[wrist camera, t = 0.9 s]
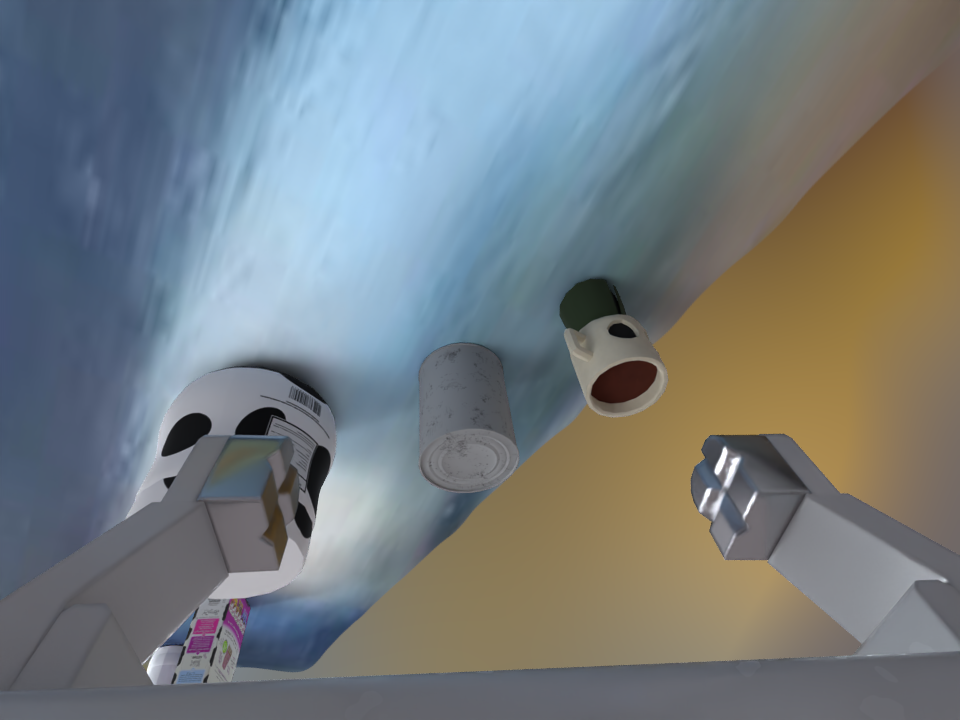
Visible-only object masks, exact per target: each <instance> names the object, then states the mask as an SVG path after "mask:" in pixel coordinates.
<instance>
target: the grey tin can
mask: <svg viewBox="0 0 960 720" xmlns="http://www.w3.org/2000/svg"><path fill="white" fill-rule="evenodd" d="M419 396H420V456H419V469H420V472H421V474H422V476H423V477H424V478H425V480H427V481H428V482H429V483H430V484H431V485H433V486H435V487H437V488H439V489H442V490H446V491H450V492H457V493H471V492H479V491H483V490H487V489H490V488H492V487H495V486H497V485H499V484H501V483H502V482H504V481H505V480H507V479H508V478H509V477H510V476H511V475H512V474H513V473H514V471H515V470H516V468H517V466H518V462H519V451H518V448H517V445H516V440H515V435H514V429H513V424H512V419H511V413H510V408H509V403H508V397H507V392H506V387H505V381H504V376H503V367H502V364H501V362H500V360H499V359H498V357H497V356H496V355H495V354H494V353H493V352H491V351H490V350H489V349H487V348H485V347H482V346H480V345H476V344H472V343H456V344H450V345H447V346H444V347H441V348H439V349H437V350H435V351H434V352H432V353H431V354H430V355H429V356H428V357H427V358H426V359H425V360H424V362H423V363H422V365H421V368H420V370H419Z"/></svg>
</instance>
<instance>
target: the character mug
mask: <svg viewBox="0 0 960 720" xmlns="http://www.w3.org/2000/svg"><path fill="white" fill-rule="evenodd" d="M613 287H614V290H615V293H616V296H617V298H616V297H615V295H614V294H613V293H612V292H611V291H610V289H609V287H608V285H607V282H606V281H605V280H604V279H589V280H586V281H583V282H580V283H577V284H576V285H575V286H574V287H573V288H572V289H571V290H570V291H569V292H568V293H567V294H566V295H565V297H564V299H563V301H562V302H561V304H560V317H561V319H562V321H563V323H564V325H565V327H566V328H567V329H565V333H564V337H565V340H566V343H567V346H568V348H569V351H570V357H571V360H572V363H573V366H574V368H575V371H576V374H577V377H578V380H579V382H580V385H581V388H582V391H583V394H584V396H585V398H586V401H587V403H588V405H589V407H590V408H591V409H592V410H594V411H595V412H596V413H598V414H599V415H604V416H608V417H623V416H629V415H632V414H635V413H638V412H641V411H643V410H645V409H646V408H648V407H649V406H651V405H652V404H654V403H655V402H656V401H657V400H658V399H659V398H660V396H661V395H662V394H663V393H664V391H665V388H666V385H667V382H668V376H667V370H666V368H665V366H664V364H663V362H662V360H661V358H660V356H659V353H658V352H657V351H656V349H655V348H654V347H653V345H652V344H651V342H650V341H649V338H648V335H647V332H646V330H645V329H644V328H643V327H642V326H641V324H640V323H639V322H638V321H637V320H635V319H634V318H633V317H631V316H628V315H626V313H625V309H624V306H623V303H622V301H621V298H620V296H619V293H618V291H617V289H616V287H615V286H614V285H613ZM617 299H618V300H617Z"/></svg>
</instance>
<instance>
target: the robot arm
mask: <svg viewBox="0 0 960 720" xmlns="http://www.w3.org/2000/svg"><path fill="white" fill-rule="evenodd" d="M701 450H702V453H703V454H704V456H705V459H704V460H702V461H701V462H700V463H699V464H697V465H696V466H695V468H694V471H693V474H692V477H691V494H692V497H693V501H694V503H695V505H696V507H697V509H698V511H699V513H700V514H702V515H703V516H705V517H706V518H707V519H709V520H710V521H712V523H711V527H710V533H711V535H712V537H713V539H714V541H715V542H716V544H717V546H718V548H719V550H720V552H721V553H722V555H723V557H724V559H725V560H768V563H769V564H770V565H771V566H772V567H774V568H775V569H776V570H777V571H778V572H779V573H780V574H782V575H783V576H784V577H785V578H786V579H787V580H789V581H790V582H791V583H792V584H793V585H794V586H796V587H797V588H798V589H799V590H800V591H801V592H802V593H804V594H805V595H806V596H807V597H808V598H810V599H811V600H812V601H813V602H814V603H815V604H816V605H818V606H819V607H820V608H821V609H822V610H823V611H825V612H826V613H827V614H828V615H829V616H830V617H832V618H833V619H834V620H835V621H836V622H837V623H839V624H840V625H841V626H842V627H843V628H844V629H845V630H847V631H848V632H849V633H850V634H851V635H853V636H854V637H855V638H856V639H857V640H858V641H859V642H861V643H862V645H861V646H860V647H859V648H858V650H857V651H856V652H855V653H854V654H853V655H852V656H830V657H808V658H784V659H759V660H736V661H712V662H688V663H665V664H641V665H621V666H620V665H618V666H597V667H596V666H595V667H571V668H547V669H524V670H501V671H480V672H479V671H478V672H477V671H476V672H453V673H429V674H405V675H383V676H382V675H381V676H357V677H334V678H309V679H286V680H261V681H237V682H213V683H189V684H165V685H154V684H153V682H152V681H151V679H150V677H149V676H148V674H147V672H146V670H145V669H144V667H143V664H144V663H145V662H146V661H147V660H148V659H149V658H150V657H151V656H152V655H153V654H154V653H155V652H156V651H157V650H158V649H159V648H160V646H161V645H162V644H163V643H164V642H165V641H166V640H167V639H168V638H169V637H170V636H171V635H172V634H173V633H174V632H175V631H176V630H177V629H178V628H179V627H180V626H181V625H182V624H183V623H184V622H185V621H186V620H187V619H188V618H189V617H190V616H191V615H192V613H193V612H194V611H195V610H196V609H197V608H198V607H199V606H200V605H201V604H202V603H203V602H204V601H205V600H206V599H207V598H208V597H209V596H210V595H211V594H212V593H213V592H214V591H215V590H216V589H217V588H218V587H219V586H220V585H221V584H222V583H223V582H224V580H225V579H226V578H227V577H228V576H229V574H228V573H240V572H260V571H279V568H280V564H281V561H282V558H283V554H284V551H285V548H286V545H287V541H288V536H287V531H286V526H287V525H288V524H289V523H290V522H291V521H292V520H294V518H295V514H296V511H297V507H298V500H299V492H300V486H299V475H298V469H297V468H295V467H294V466H293V465H292V464H291V460H292V457H293V454H294V448H293V444H292V440H291V438H290V437H288V436H267V435H233V436H232V435H204V436H203V437H201V438H200V439H199V440H198V441H197V442H196V444H195V446H194V447H193V449H192V451H191V452H190V454H189V456H188V457H187V459H186V461H185V462H184V464H183V466H182V467H181V469H180V471H179V472H178V474H177V476H176V477H175V479H174V481H173V482H172V484H171V486H170V487H169V489H168V491H167V492H166V494H165V496H164V497H163V499H162V501H161V502H151V503H150V504H148V505H147V506H145V507H144V508H142V509H141V510H139V511H138V512H136V513H134V514H133V515H131V516H130V517H128V518H127V519H125V520H124V521H122V522H121V523H119V524H117V525H116V526H114V527H113V528H111V529H110V530H108V531H107V532H105V533H104V534H102V535H101V536H99V537H97V538H96V539H94V540H93V541H91V542H90V543H88V544H87V545H85V546H84V547H82V548H81V549H79V550H77V551H76V552H74V553H73V554H71V555H70V556H68V557H67V558H65V559H64V560H62V561H61V562H59V563H57V564H56V565H54V566H53V567H51V568H50V569H48V570H47V571H45V572H44V573H42V574H40V575H39V576H37V577H36V578H34V579H33V580H31V581H30V582H28V583H27V584H25V585H24V586H22V587H20V588H19V589H17V590H16V591H14V592H13V593H11V594H10V595H8V596H7V597H5V598H4V599H2V600H0V720H960V555H958V554H956V553H954V552H952V551H951V550H949V549H947V548H945V547H943V546H942V545H940V544H938V543H936V542H934V541H932V540H931V539H929V538H927V537H925V536H924V535H922V534H920V533H918V532H916V531H915V530H913V529H911V528H909V527H907V526H906V525H904V524H902V523H900V522H898V521H897V520H895V519H893V518H891V517H889V516H888V515H886V514H884V513H882V512H880V511H878V510H877V509H875V508H873V507H871V506H870V505H868V504H866V503H864V502H862V501H861V500H859V499H857V498H855V497H853V496H852V495H850V494H840V493H839V491H838V490H837V489H836V488H835V487H834V486H833V485H832V483H831V482H830V481H829V480H828V479H827V478H826V477H825V476H824V474H823V473H822V472H821V471H820V470H819V469H818V467H817V466H816V465H815V464H814V463H813V462H812V461H811V460H810V458H809V457H808V456H807V455H806V454H805V453H804V452H803V450H802V449H801V448H800V447H799V446H798V445H797V444H796V442H795V441H794V440H793V439H792V438H791V437H789V436H787V435H785V434H759V435H710V436H709V437H708V438H707V439H706V440H705V442H704V445H703V447H702V449H701Z"/></svg>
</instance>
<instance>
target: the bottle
mask: <svg viewBox="0 0 960 720" xmlns="http://www.w3.org/2000/svg"><path fill="white" fill-rule="evenodd" d="M182 649H183V646H179V645H170V646H164V647H161V648H159V649H158V650H157V651H156V652H155V653H154V654H153V656H152V659H151V660H150V663H149V666H148V669H147V674H148V676H149V677H150V679H151V681H152V682H153V684H154V685H165V684H171V681H172V679H173V675H174V673H175V670H176V667H177V664H178V661H179V658H180V655H181V652H182Z"/></svg>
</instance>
